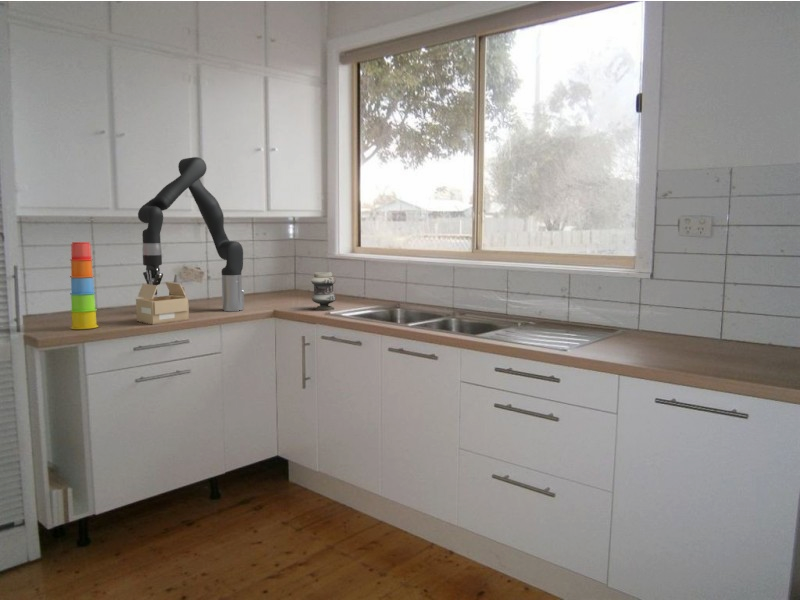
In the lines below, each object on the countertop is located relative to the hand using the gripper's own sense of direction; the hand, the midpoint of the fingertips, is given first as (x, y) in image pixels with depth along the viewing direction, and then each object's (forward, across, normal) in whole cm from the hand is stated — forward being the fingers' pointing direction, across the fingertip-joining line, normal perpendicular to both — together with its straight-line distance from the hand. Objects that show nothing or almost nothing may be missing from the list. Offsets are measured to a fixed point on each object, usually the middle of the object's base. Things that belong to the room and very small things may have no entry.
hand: (153, 294), depth 273 cm
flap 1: (+2, 0, +4) cm, 5 cm away
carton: (+12, 0, -4) cm, 12 cm away
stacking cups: (+12, +6, +27) cm, 30 cm away
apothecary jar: (+12, -26, -74) cm, 79 cm away
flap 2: (+2, 0, -12) cm, 12 cm away
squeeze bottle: (+12, +16, -20) cm, 29 cm away
